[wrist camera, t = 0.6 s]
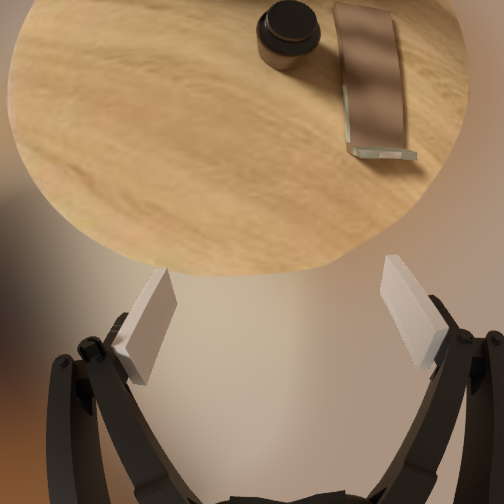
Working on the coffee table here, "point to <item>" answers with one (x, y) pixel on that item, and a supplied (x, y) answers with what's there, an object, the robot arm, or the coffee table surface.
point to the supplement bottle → (287, 35)
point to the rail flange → (370, 83)
